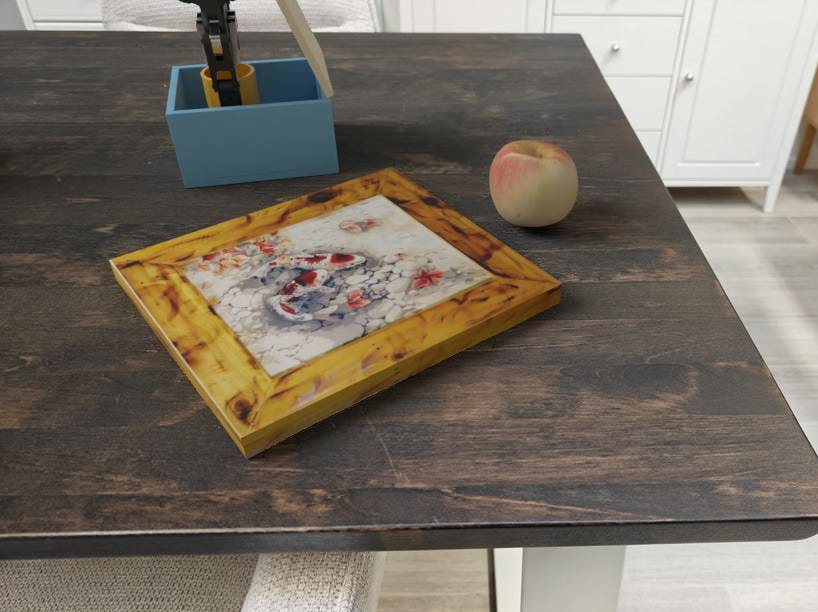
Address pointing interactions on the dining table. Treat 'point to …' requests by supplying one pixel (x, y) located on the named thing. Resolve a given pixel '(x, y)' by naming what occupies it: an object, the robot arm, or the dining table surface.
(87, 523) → the dining table surface
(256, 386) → the picture frame
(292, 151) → the box
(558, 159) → the apple
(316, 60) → the cooler lid
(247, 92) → the cup
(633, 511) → the dining table surface
